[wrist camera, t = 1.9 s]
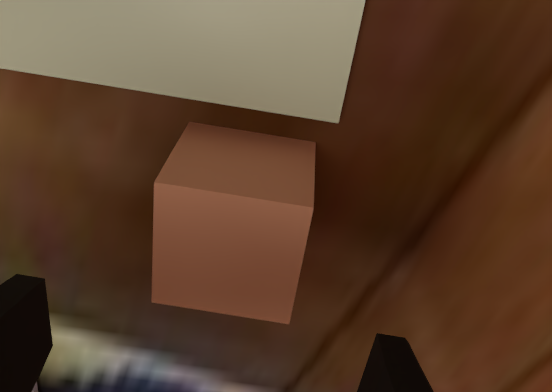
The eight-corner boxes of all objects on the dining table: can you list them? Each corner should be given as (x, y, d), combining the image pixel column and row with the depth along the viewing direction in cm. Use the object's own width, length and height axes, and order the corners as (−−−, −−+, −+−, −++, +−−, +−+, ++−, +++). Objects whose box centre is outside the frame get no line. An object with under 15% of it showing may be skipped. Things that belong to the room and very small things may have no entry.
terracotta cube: (183, 225, 18) (151, 302, 15) (189, 120, 16) (153, 182, 13) (295, 242, 18) (289, 324, 15) (315, 140, 16) (313, 207, 13)
